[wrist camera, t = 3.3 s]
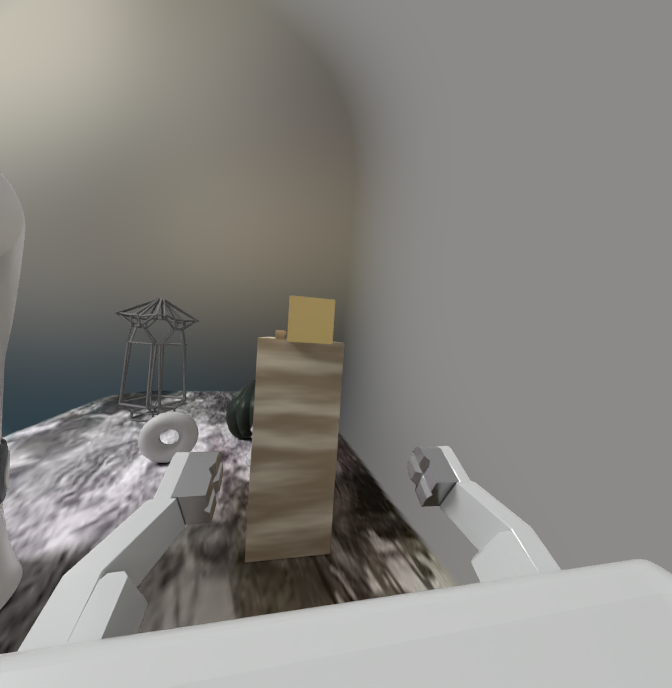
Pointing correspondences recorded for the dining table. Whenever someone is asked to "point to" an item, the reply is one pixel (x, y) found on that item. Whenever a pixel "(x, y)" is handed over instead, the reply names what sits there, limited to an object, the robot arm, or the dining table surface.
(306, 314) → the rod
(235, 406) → the squash
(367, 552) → the dining table surface
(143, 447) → the donut
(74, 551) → the dining table surface
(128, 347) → the geometric lantern
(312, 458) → the plinth
